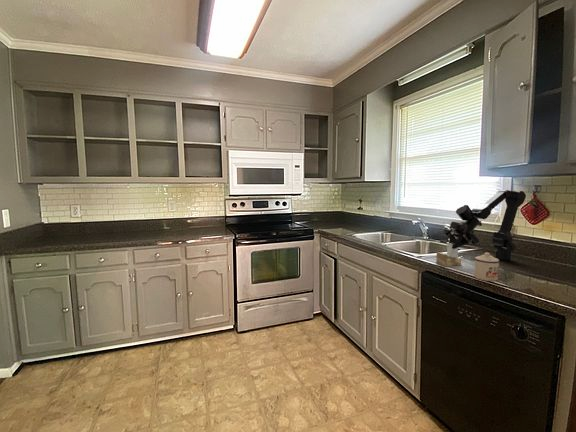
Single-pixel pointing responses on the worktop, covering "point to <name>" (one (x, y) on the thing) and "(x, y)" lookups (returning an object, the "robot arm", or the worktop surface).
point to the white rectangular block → (451, 251)
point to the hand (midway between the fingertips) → (450, 247)
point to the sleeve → (447, 260)
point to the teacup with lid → (486, 267)
